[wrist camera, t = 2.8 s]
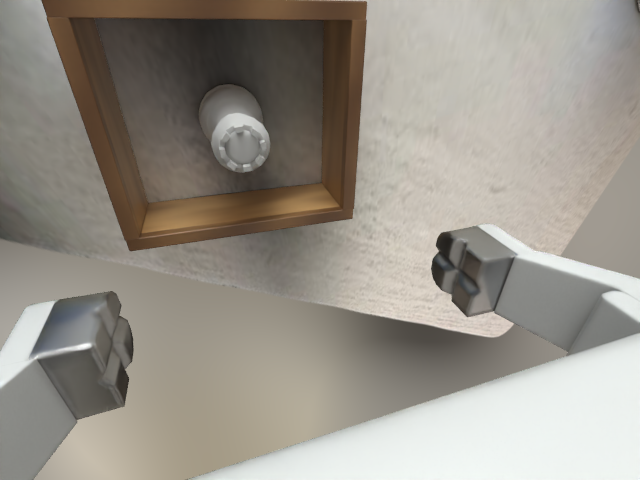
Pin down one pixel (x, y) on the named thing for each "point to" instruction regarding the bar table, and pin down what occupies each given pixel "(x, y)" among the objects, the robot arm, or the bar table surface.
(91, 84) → the open wooden box
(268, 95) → the bar table surface
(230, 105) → the rook chess piece
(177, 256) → the bar table surface
